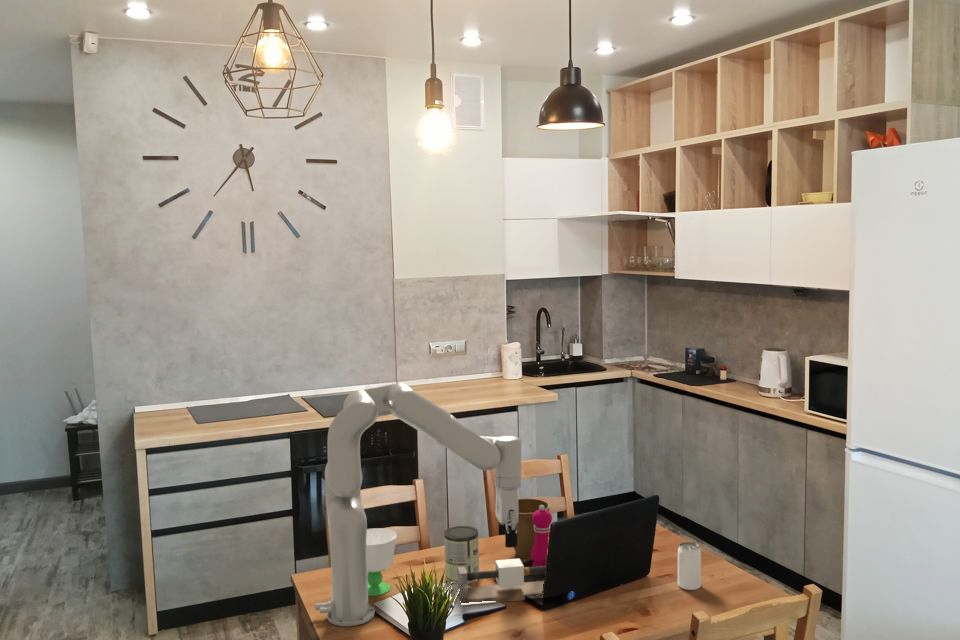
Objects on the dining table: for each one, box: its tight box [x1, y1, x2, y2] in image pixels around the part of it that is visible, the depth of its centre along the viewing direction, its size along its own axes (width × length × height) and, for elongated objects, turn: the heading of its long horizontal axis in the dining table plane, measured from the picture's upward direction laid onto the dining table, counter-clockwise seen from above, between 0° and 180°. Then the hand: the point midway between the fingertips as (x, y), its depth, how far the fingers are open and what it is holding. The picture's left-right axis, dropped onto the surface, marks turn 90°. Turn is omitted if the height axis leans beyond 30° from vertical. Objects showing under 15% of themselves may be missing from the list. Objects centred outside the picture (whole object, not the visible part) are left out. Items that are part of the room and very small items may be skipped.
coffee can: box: [443, 525, 480, 585], centre depth 239 cm, size 10×10×14 cm
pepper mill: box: [530, 505, 553, 567], centre depth 244 cm, size 7×7×20 cm
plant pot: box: [510, 497, 550, 559], centre depth 256 cm, size 15×15×16 cm
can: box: [677, 541, 702, 591], centre depth 230 cm, size 6×6×12 cm
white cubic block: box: [494, 557, 525, 588], centre depth 226 cm, size 7×6×6 cm
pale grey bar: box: [457, 566, 546, 604], centre depth 226 cm, size 28×8×8 cm, turn 100°
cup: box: [366, 527, 398, 597], centre depth 232 cm, size 14×14×16 cm
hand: (507, 540), depth 225 cm, fingers open, 9 cm apart
